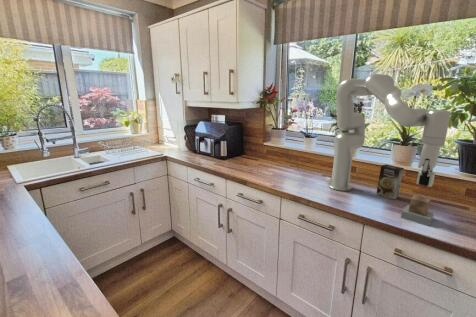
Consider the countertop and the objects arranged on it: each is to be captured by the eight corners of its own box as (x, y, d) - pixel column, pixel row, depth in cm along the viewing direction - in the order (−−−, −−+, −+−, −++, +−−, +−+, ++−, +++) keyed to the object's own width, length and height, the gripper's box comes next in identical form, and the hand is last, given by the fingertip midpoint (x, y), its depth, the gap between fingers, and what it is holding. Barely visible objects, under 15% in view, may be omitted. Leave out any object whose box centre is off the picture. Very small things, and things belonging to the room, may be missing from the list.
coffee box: (375, 194, 137) (380, 165, 133) (380, 191, 141) (385, 163, 137) (394, 199, 130) (399, 169, 126) (398, 196, 134) (404, 167, 130)
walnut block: (408, 211, 110) (411, 198, 109) (411, 207, 114) (414, 194, 113) (425, 216, 106) (428, 202, 105) (427, 211, 110) (430, 198, 109)
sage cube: (416, 183, 107) (418, 172, 106) (418, 181, 110) (421, 170, 109) (430, 187, 103) (433, 175, 102) (433, 184, 107) (435, 172, 106)
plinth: (400, 217, 111) (402, 211, 110) (406, 210, 118) (407, 204, 117) (428, 225, 104) (430, 219, 103) (433, 218, 111) (434, 211, 110)
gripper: (426, 137, 111) (418, 177, 115) (417, 142, 99) (409, 185, 104) (447, 139, 106) (439, 181, 110) (441, 144, 94) (431, 190, 98)
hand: (424, 183), depth 107 cm, fingers closed on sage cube, 5 cm apart
